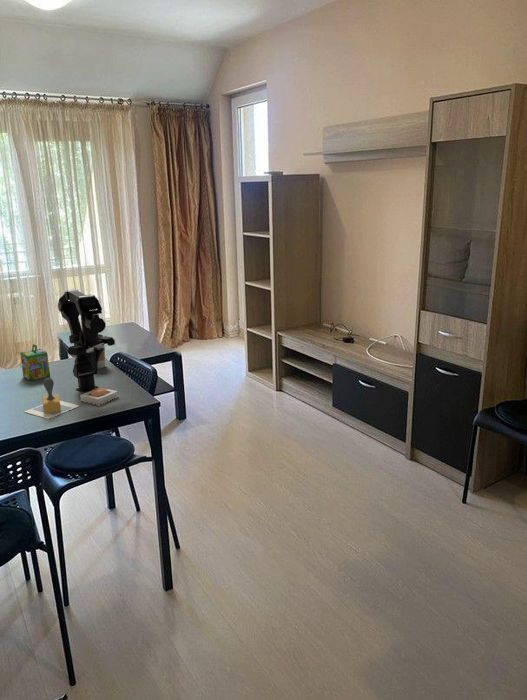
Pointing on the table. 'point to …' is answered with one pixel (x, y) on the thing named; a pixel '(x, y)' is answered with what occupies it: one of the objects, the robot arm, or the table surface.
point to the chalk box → (35, 364)
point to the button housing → (99, 400)
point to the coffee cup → (101, 356)
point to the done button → (98, 392)
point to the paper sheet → (40, 412)
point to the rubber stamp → (50, 398)
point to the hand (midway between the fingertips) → (94, 366)
